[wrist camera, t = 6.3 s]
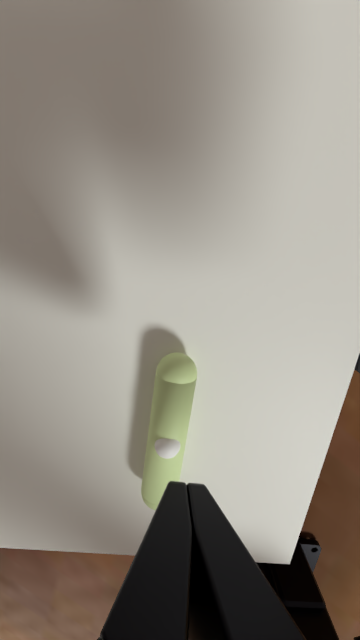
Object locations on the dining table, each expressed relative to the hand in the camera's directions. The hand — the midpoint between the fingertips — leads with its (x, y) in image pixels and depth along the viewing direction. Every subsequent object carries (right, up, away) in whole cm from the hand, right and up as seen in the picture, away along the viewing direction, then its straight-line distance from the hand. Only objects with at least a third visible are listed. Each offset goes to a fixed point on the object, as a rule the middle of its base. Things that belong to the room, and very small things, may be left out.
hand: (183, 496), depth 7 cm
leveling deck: (0, +4, +5) cm, 6 cm away
